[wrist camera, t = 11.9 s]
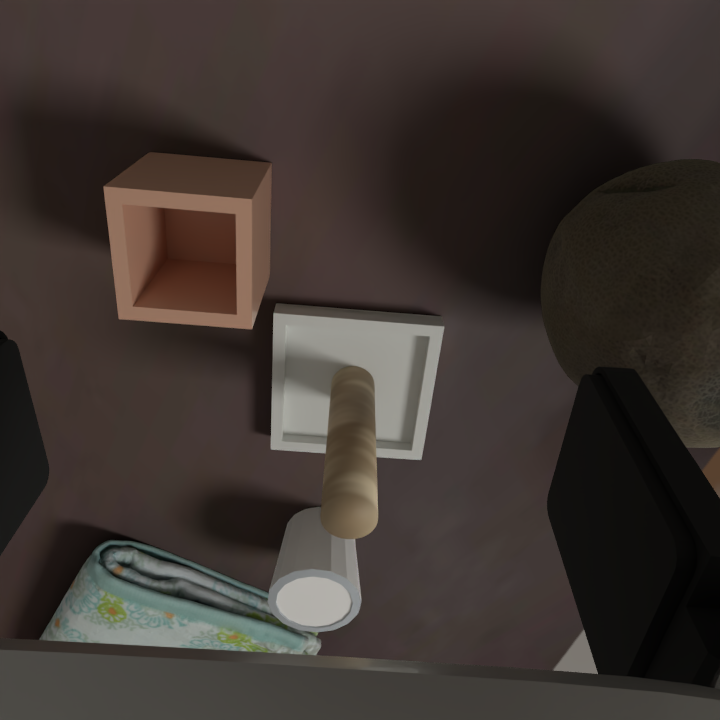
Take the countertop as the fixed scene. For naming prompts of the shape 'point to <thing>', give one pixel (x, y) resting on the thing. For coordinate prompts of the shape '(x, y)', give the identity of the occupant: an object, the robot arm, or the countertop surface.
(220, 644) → the towel
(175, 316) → the cup
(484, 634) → the countertop surface
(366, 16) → the countertop surface
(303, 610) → the shot glass
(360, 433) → the dowel
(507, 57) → the countertop surface
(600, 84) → the countertop surface
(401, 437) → the tray
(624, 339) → the cantaloupe
